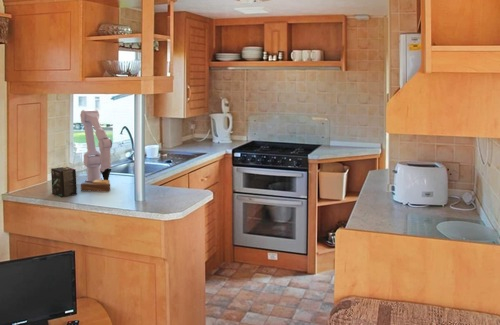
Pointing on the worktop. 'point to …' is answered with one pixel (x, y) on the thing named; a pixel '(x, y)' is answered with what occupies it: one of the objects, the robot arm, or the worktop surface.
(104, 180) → the block
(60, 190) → the tampon box
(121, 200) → the worktop surface
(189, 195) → the worktop surface
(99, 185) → the brown wooden bar
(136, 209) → the worktop surface
